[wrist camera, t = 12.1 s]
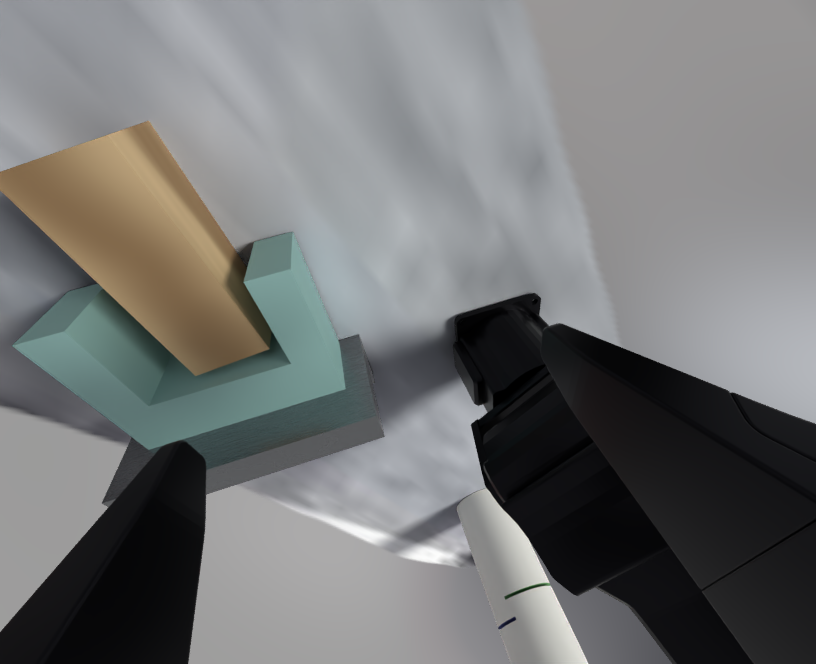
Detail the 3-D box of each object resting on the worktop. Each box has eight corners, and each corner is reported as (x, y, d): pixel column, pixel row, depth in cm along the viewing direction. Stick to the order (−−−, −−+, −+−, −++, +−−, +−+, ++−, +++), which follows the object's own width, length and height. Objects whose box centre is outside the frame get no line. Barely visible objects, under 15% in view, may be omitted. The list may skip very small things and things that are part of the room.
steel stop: (358, 334, 23) (376, 415, 17) (372, 373, 25) (391, 454, 20) (150, 396, 22) (101, 503, 16) (187, 430, 24) (155, 532, 19)
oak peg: (150, 120, 14) (107, 135, 11) (274, 306, 20) (269, 349, 17) (56, 152, 14) (-15, 176, 11) (211, 329, 20) (195, 376, 17)
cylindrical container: (446, 513, 45) (552, 839, 26) (481, 484, 42) (628, 826, 23) (481, 516, 49) (596, 803, 30) (515, 490, 46) (666, 788, 27)
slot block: (292, 231, 17) (290, 269, 14) (339, 343, 22) (345, 388, 19) (68, 291, 16) (11, 345, 13) (171, 393, 21) (148, 450, 18)
